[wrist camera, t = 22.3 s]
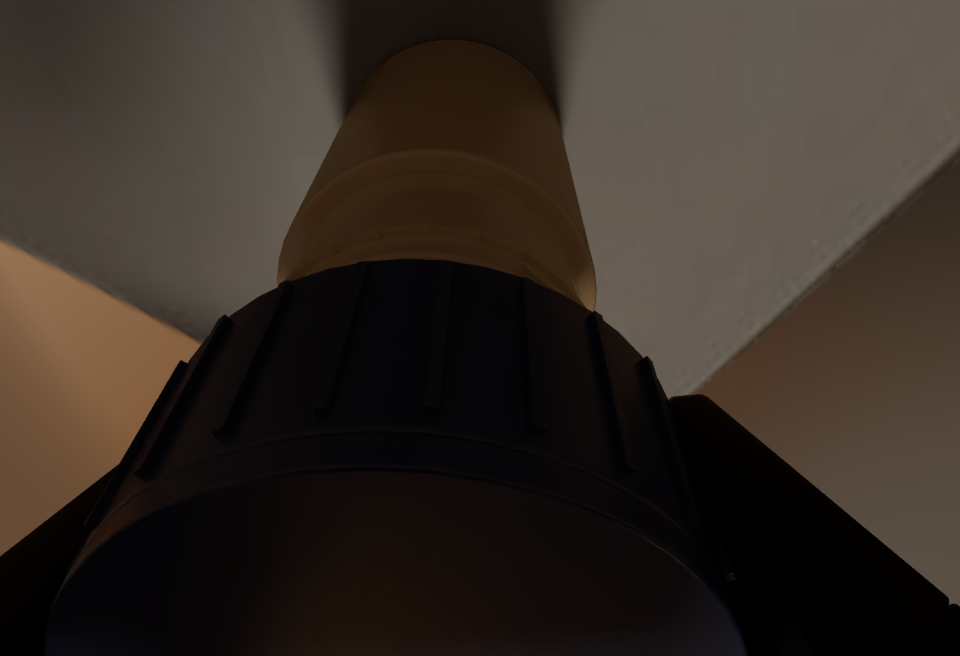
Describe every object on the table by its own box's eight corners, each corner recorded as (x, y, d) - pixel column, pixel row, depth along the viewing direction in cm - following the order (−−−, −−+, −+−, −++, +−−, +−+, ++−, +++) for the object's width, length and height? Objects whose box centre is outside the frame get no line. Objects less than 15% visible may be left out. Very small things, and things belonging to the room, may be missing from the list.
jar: (468, 282, 20) (455, 582, 12) (304, 164, 18) (158, 423, 10) (607, 138, 18) (704, 389, 10) (434, -14, 16) (380, 140, 8)
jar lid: (161, 593, 10) (58, 828, 8) (166, 186, 7) (-8, 378, 4) (587, 660, 11) (614, 893, 8) (777, 324, 8) (911, 549, 5)
